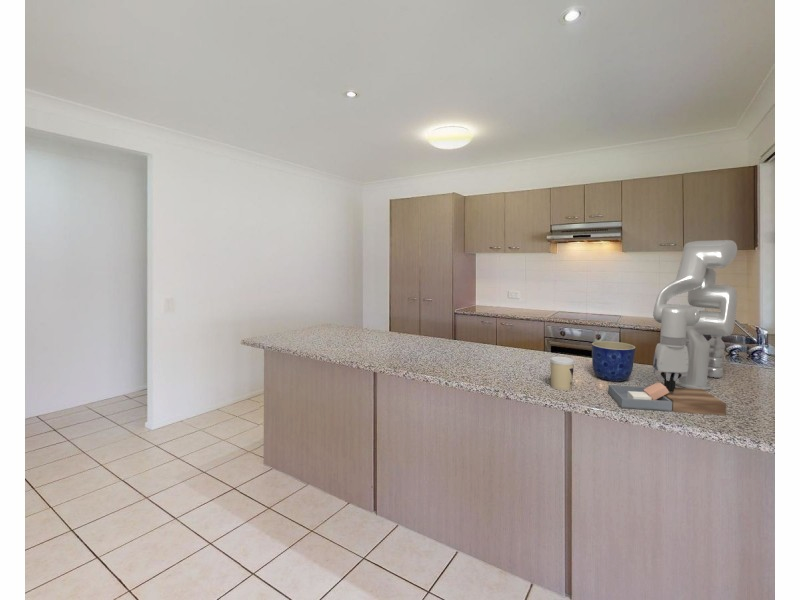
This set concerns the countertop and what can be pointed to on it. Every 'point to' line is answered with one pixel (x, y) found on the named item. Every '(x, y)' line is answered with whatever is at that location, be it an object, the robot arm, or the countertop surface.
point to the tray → (621, 399)
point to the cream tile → (638, 395)
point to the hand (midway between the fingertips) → (669, 390)
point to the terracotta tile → (656, 390)
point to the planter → (612, 360)
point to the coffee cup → (561, 372)
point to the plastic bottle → (715, 356)
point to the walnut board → (695, 401)
